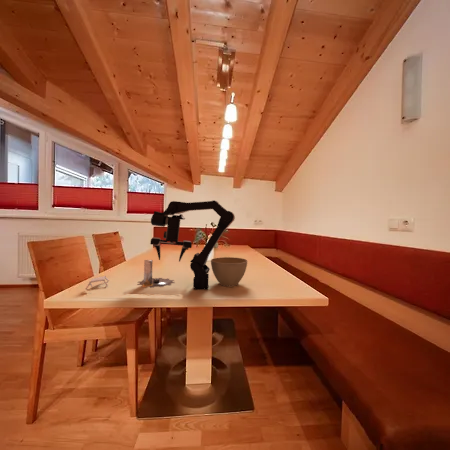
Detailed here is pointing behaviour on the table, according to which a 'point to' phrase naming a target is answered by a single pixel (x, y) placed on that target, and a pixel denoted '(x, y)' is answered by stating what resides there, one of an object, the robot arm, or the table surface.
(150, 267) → the drive pin
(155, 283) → the sprocket plate
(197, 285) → the robot arm
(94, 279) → the origami figure
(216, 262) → the flower pot
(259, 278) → the table surface
